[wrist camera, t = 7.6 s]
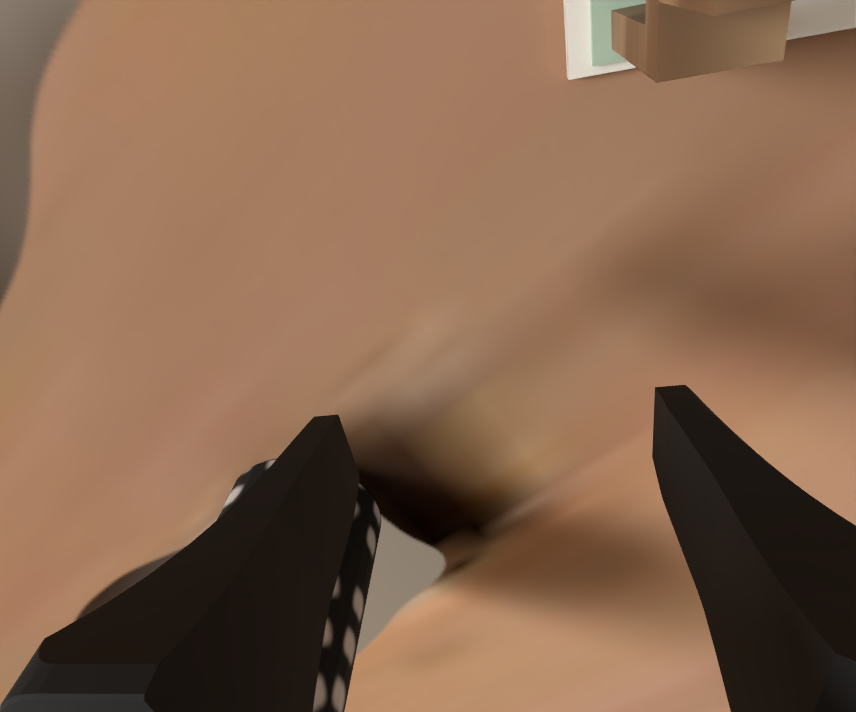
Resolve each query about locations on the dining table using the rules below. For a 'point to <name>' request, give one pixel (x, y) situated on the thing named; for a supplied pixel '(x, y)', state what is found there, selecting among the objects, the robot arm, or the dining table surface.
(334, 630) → the white-spotted black cylinder
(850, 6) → the buzz wire board
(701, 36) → the stepped wooden block
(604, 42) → the end pad
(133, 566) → the dining table surface
